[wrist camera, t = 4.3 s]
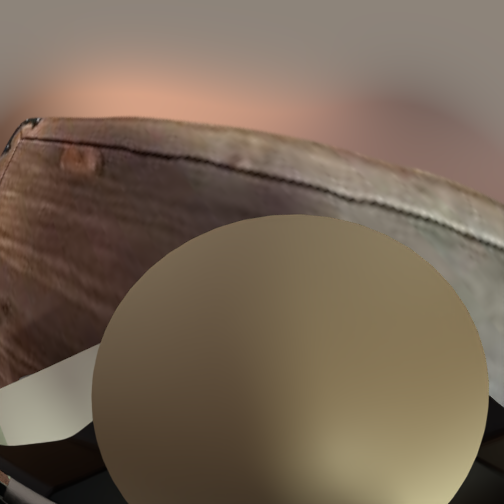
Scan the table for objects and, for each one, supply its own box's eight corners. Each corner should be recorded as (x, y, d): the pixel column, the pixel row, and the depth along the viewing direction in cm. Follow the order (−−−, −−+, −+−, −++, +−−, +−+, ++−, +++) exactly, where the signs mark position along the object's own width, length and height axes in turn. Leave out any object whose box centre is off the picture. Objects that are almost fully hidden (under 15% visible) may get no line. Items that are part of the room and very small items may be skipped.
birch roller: (367, 369, 15) (515, 477, 2) (279, 411, 15) (195, 593, 2) (326, 284, 16) (377, 148, 3) (240, 326, 16) (49, 318, 4)
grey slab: (282, 505, 13) (273, 543, 10) (92, 526, 14) (64, 546, 11) (186, 310, 17) (152, 306, 13) (24, 383, 18) (-13, 386, 14)
